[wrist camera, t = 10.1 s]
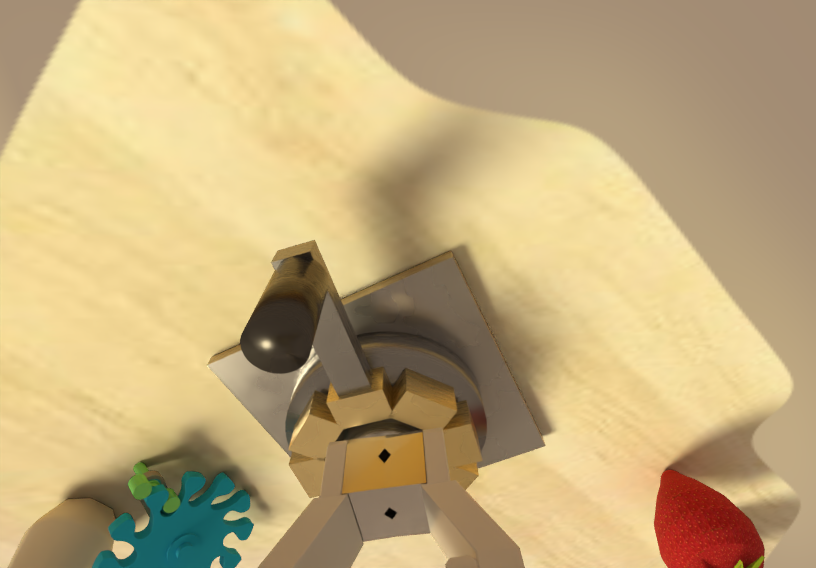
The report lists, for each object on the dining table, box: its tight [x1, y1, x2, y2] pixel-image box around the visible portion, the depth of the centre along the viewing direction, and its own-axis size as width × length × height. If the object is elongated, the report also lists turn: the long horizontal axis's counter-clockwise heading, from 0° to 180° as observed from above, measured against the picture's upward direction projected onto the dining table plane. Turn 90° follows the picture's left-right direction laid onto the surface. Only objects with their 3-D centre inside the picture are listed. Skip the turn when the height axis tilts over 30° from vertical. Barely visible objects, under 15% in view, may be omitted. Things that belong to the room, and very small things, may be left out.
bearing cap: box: [207, 251, 545, 468], centre depth 27 cm, size 16×16×6 cm
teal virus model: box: [92, 462, 254, 568], centre depth 32 cm, size 11×6×10 cm
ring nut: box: [240, 240, 482, 498], centre depth 22 cm, size 10×18×6 cm, turn 17°
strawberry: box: [654, 470, 765, 568], centre depth 29 cm, size 6×8×10 cm
